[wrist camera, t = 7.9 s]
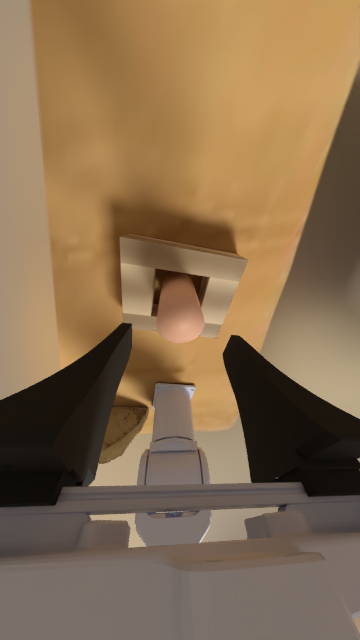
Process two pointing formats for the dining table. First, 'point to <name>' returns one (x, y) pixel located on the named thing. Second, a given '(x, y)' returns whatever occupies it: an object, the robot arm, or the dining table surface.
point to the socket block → (152, 254)
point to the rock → (121, 431)
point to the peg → (179, 309)
